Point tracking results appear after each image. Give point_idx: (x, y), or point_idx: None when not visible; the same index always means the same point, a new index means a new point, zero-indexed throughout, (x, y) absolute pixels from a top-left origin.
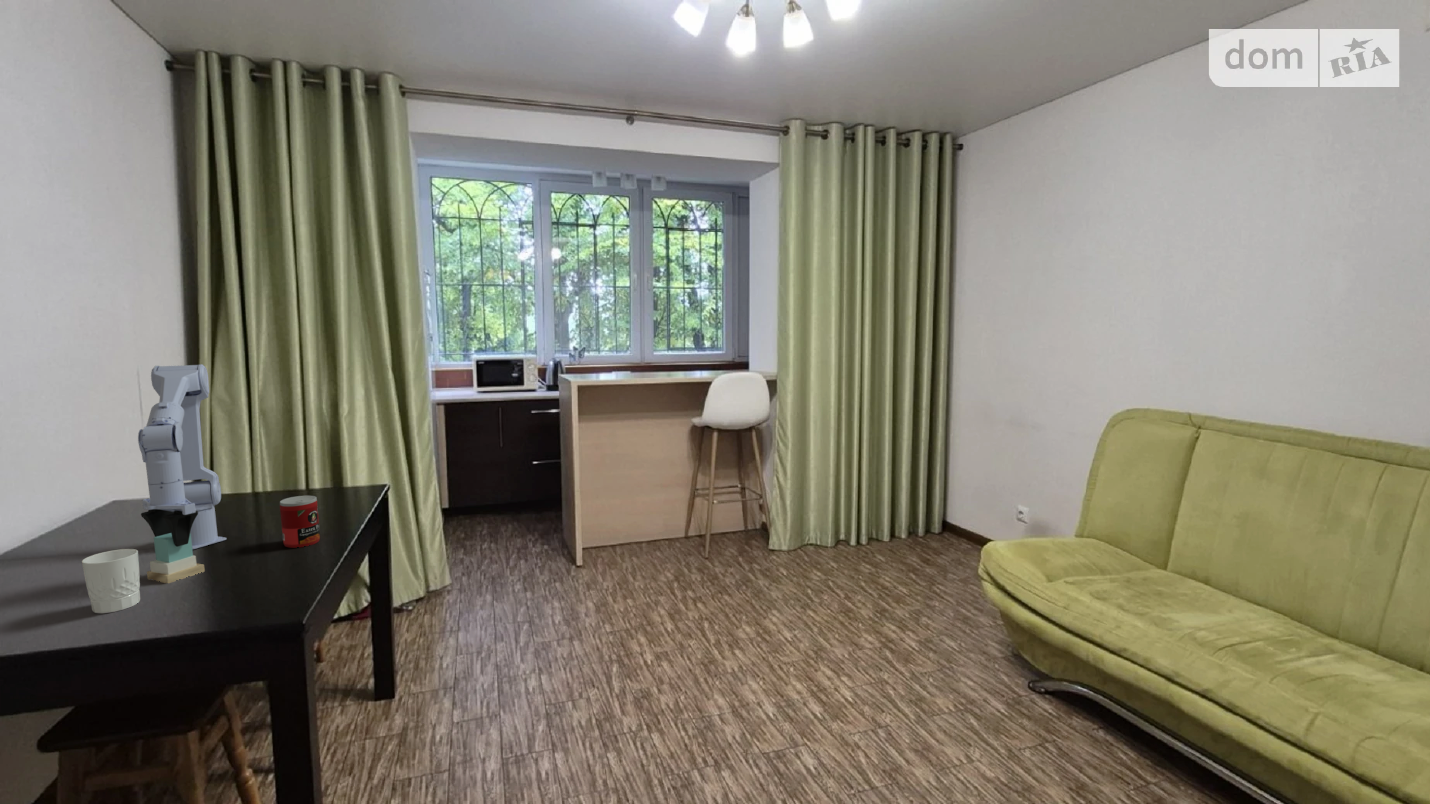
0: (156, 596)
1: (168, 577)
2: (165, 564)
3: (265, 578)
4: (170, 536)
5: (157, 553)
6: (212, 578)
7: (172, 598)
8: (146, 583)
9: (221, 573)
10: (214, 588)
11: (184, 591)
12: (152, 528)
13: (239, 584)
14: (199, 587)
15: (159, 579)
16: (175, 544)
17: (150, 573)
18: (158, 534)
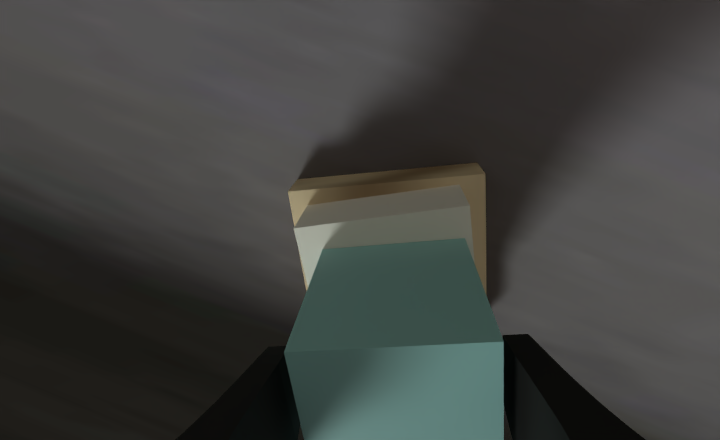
0: (135, 66)
1: (290, 193)
2: (311, 225)
3: (15, 375)
4: (373, 408)
5: (444, 262)
6: (191, 297)
7: (40, 93)
8: (404, 128)
9: (229, 341)
10: (41, 242)
11: (103, 165)
12: (597, 430)
13: (16, 306)
14: (108, 220)
15: (367, 176)
16: (274, 354)
17: (449, 175)
18: (528, 394)
